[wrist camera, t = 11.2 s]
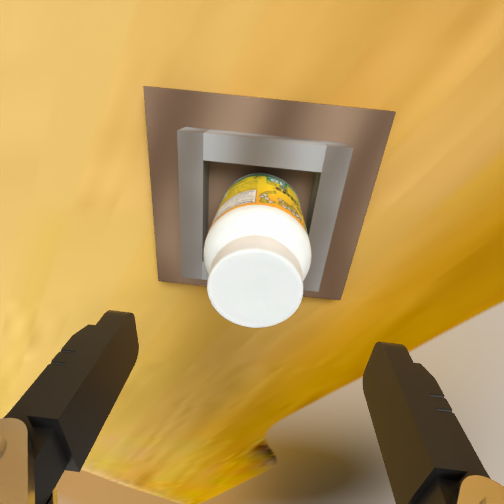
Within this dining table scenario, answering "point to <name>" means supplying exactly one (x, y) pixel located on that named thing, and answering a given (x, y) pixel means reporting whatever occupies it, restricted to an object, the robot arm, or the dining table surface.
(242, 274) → the supplement bottle
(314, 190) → the socket holder
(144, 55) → the dining table surface
